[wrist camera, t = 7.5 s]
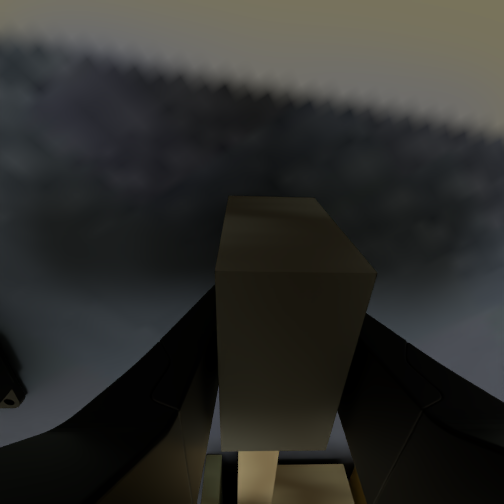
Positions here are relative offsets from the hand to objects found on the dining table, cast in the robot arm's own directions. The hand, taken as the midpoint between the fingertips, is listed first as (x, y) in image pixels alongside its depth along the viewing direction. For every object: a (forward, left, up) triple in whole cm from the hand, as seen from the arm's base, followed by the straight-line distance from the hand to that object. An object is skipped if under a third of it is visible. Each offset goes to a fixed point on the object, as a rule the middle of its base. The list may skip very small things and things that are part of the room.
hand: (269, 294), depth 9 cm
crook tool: (+2, -7, -2) cm, 7 cm away
